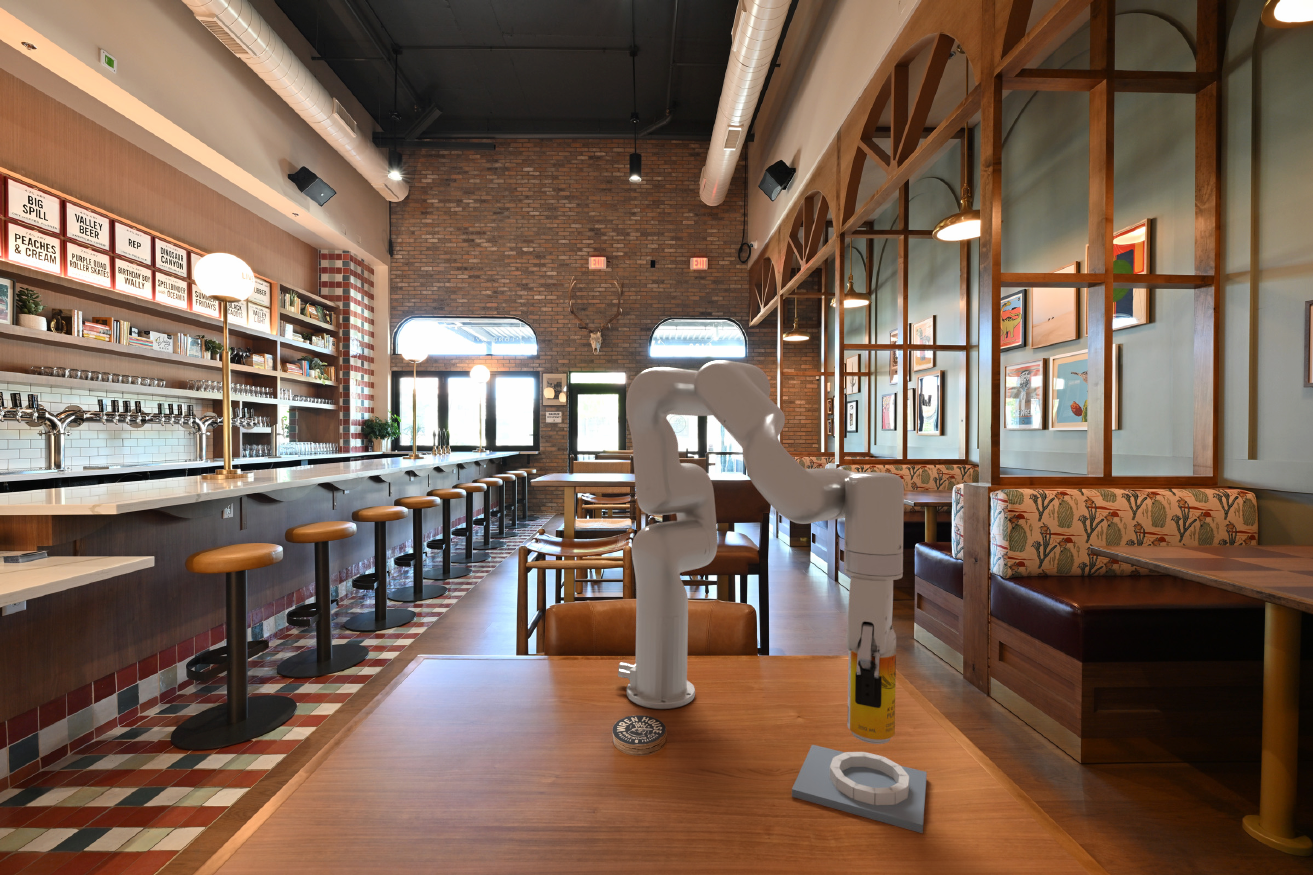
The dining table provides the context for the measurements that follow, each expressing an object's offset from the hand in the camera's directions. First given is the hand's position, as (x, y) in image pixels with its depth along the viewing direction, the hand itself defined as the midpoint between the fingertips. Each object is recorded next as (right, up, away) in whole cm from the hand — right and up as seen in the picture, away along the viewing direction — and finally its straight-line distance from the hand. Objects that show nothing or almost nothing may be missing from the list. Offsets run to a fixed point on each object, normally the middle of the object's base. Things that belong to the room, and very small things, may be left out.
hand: (871, 693), depth 82 cm
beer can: (0, -6, 0) cm, 6 cm away
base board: (-1, -13, +1) cm, 13 cm away
